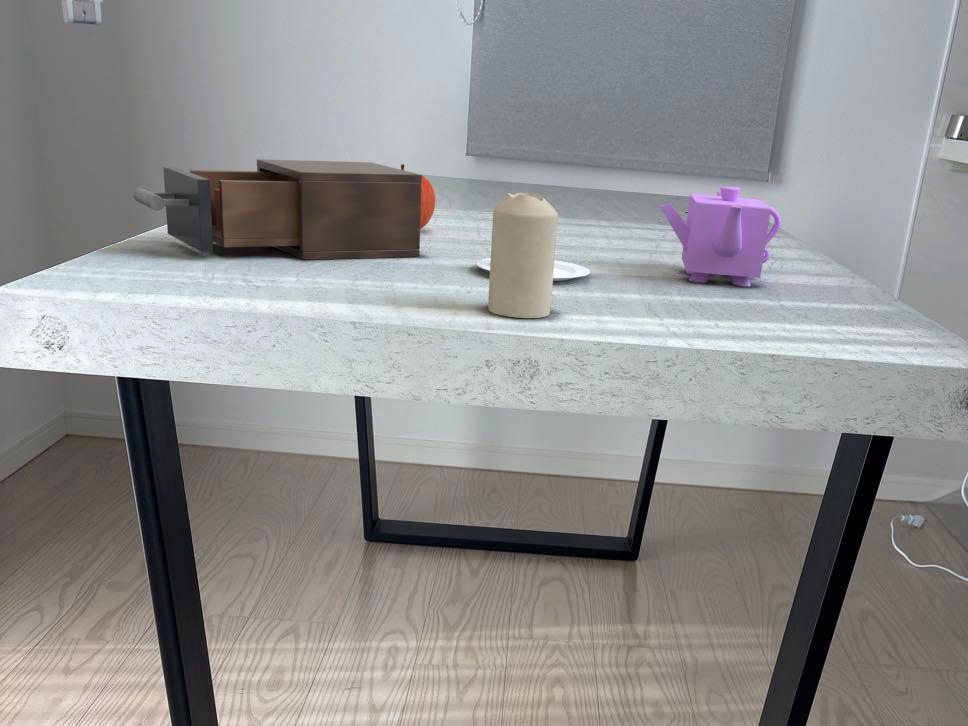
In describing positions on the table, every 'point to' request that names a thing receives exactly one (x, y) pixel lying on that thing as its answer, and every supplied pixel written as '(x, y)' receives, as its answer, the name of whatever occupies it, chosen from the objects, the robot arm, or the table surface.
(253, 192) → the drawer
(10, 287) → the table surface
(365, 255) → the cabinet
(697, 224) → the teapot
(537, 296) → the candle
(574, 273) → the white saucer
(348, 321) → the table surface
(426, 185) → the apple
